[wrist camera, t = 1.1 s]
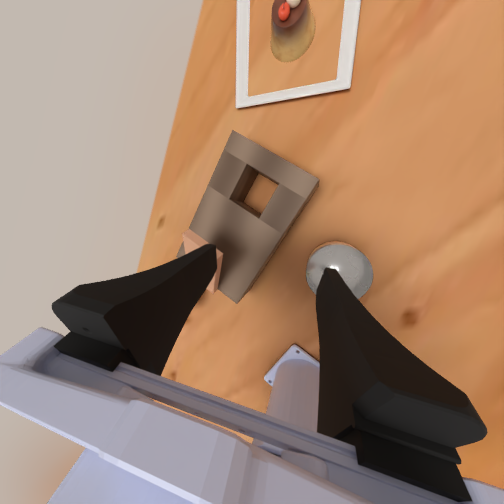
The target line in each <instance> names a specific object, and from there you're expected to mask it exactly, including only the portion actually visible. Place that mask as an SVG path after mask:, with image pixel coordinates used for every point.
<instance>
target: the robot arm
mask: <svg viewBox="0 0 504 504" xmlns="http://www.w3.org/2000/svg"><path fill="white" fill-rule="evenodd" d="M216 270H217V253H216V245H213V244H205V245H203V246H201V247H199V248H197V249H195V250H193V251H191V252H189V253H187V254H185V255H183V256H181V257H179V258H177V259H175V260H172V261H170V262H168V263H166V264H163V265H161V266H158V267H155V268H152V269H149V270H146V271H143V272H139V273H136V274H133V275H129V276H125V277H121V278H116V279H111V280H106V281H101V282H95V283H89V284H83V285H79V286H77V287H76V288H74V289H73V290H71V291H70V292H68V293H67V294H65V295H64V296H63V297H61V298H60V299H58V300H56V301H55V302H53V303H52V310H53V312H54V313H55V314H56V316H57V317H58V318H59V319H60V320H61V321H62V322H63V323H64V324H65V326H66V327H67V328H68V329H69V330H70V331H71V332H70V333H68V334H67V335H66V336H65V337H64V336H63V335H61V334H59V333H57V332H54V331H51V330H48V329H46V328H43V327H40V328H38V329H36V330H35V331H34V332H32V333H31V334H29V335H28V336H27V337H25V338H24V339H23V340H21V341H20V342H19V343H17V344H16V345H14V346H13V347H12V348H10V349H9V350H7V351H6V352H5V353H3V354H2V355H0V405H1V406H3V407H5V408H7V409H9V410H11V411H13V412H15V413H17V414H19V415H21V416H23V417H25V418H27V419H29V420H31V421H34V422H36V423H37V424H40V425H42V426H43V427H45V428H47V429H50V430H52V431H54V432H56V433H58V434H60V435H62V436H64V437H66V438H68V439H70V440H72V441H74V442H76V443H78V444H80V445H82V446H84V447H86V449H85V450H84V451H83V453H82V454H81V456H80V457H79V459H78V460H77V462H76V463H75V464H74V466H73V467H72V468H71V470H70V472H69V473H68V474H67V476H66V477H65V478H64V480H63V481H62V483H61V484H60V486H59V487H58V489H57V490H56V491H55V493H54V494H53V495H52V497H51V498H50V500H49V501H48V503H47V504H504V489H501V488H498V487H496V486H493V485H490V484H487V483H484V482H481V481H478V480H475V479H471V478H465V477H462V476H461V474H460V472H459V470H458V468H457V465H456V464H461V459H460V457H459V455H458V453H457V451H456V449H455V448H456V447H460V446H463V445H467V444H471V443H474V442H477V441H480V440H482V439H483V438H484V437H485V436H486V434H487V428H486V426H485V425H484V423H483V421H482V420H481V418H480V416H479V415H478V413H477V411H476V410H475V408H474V406H473V405H472V403H471V402H470V400H469V398H468V397H467V395H466V394H465V393H464V392H462V391H461V390H460V389H458V388H457V387H456V386H454V385H453V384H451V383H450V382H449V381H447V380H446V379H445V378H443V377H442V376H441V375H439V374H438V373H437V372H435V371H434V370H432V369H431V368H430V367H429V366H427V365H426V364H425V363H424V362H422V361H421V360H420V359H419V358H417V357H416V356H415V355H414V354H412V353H411V352H410V351H409V350H408V349H407V348H405V347H404V346H403V345H402V344H401V343H400V342H399V341H397V340H396V339H395V338H394V337H393V336H392V335H391V334H390V333H389V332H388V331H387V330H386V329H385V328H383V327H382V326H381V324H380V323H379V322H378V321H377V320H376V319H375V318H374V317H373V316H372V315H371V314H370V313H369V312H368V311H367V310H366V308H365V307H364V306H363V305H362V304H361V303H360V301H359V300H358V299H357V298H356V296H355V295H354V294H353V292H352V291H351V290H350V288H349V287H348V286H347V284H346V283H345V281H344V280H343V279H342V277H341V276H340V274H339V273H338V271H337V270H336V269H333V268H328V267H325V270H324V272H323V275H322V277H321V280H320V282H319V285H318V288H317V290H316V312H317V322H318V332H319V344H320V363H319V362H318V361H317V360H315V359H314V358H313V357H311V356H310V355H309V354H308V353H306V352H305V351H304V350H302V349H301V348H300V347H299V346H297V345H295V344H294V345H292V346H291V347H290V348H289V349H288V350H287V351H286V352H285V353H284V355H283V356H282V357H281V358H280V359H279V360H278V361H277V362H276V363H275V365H274V366H273V367H272V368H271V369H270V370H269V371H268V372H267V373H266V375H265V376H264V379H265V381H266V382H267V383H269V384H270V385H271V386H272V390H271V394H270V399H269V403H268V407H267V411H266V414H264V413H262V412H259V411H256V410H253V409H250V408H248V407H245V406H242V405H239V404H236V403H234V402H231V401H228V400H225V399H223V398H220V397H217V396H214V395H211V394H209V393H206V392H203V391H200V390H198V389H195V388H192V387H189V386H186V385H184V384H181V383H178V382H175V381H173V380H170V379H167V378H164V377H161V374H162V371H163V369H164V367H165V364H166V362H167V360H168V357H169V355H170V353H171V351H172V349H173V346H174V344H175V342H176V340H177V338H178V336H179V334H180V332H181V330H182V328H183V326H184V324H185V322H186V320H187V318H188V316H189V314H190V313H191V311H192V309H193V307H194V306H195V304H196V303H197V301H198V300H199V298H200V297H201V295H202V294H203V293H204V291H205V290H206V288H207V287H208V285H209V284H210V282H211V280H212V279H213V277H214V275H215V272H216ZM296 350H299V352H298V351H296ZM270 380H271V381H270ZM148 397H149V398H148ZM150 398H152V399H155V400H157V401H160V402H162V403H165V404H167V405H170V406H173V407H175V408H178V409H180V410H183V411H185V412H188V413H191V414H193V415H196V416H198V417H201V418H204V419H206V420H209V421H211V422H214V423H216V424H219V425H222V426H224V427H227V428H229V429H232V430H234V431H237V432H240V433H242V434H245V435H247V436H250V437H252V438H254V439H253V442H252V444H251V443H249V442H247V441H245V440H244V439H242V438H241V437H239V436H237V435H236V434H234V433H232V432H229V431H227V430H225V429H223V428H221V427H218V426H215V425H213V424H210V423H208V422H205V421H203V420H200V419H198V418H195V417H192V416H190V415H187V414H185V413H182V412H180V411H177V410H174V409H172V408H169V407H167V406H164V405H162V404H159V403H157V402H154V400H152V399H150Z"/></svg>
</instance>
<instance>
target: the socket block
mask: <svg viewBox="0 0 504 504" xmlns="http://www.w3.org/2000/svg"><path fill="white" fill-rule="evenodd" d="M258 173H259V174H261V175H263V176H264V177H266V178H268V179H269V180H271V181H273V182H274V183H276V184H278V187H277V189H276V190H275V192H274V194H273V196H272V197H271V199H270V201H269V202H268V204H267V206H266V208H265V209H264V211H263V213H262V214H260V213H259V212H257V211H256V210H254V209H252V208H251V207H249V206H248V205H246V204H245V203H243V201H244V199H245V197H246V195H247V193H248V191H249V189H250V188H251V186H252V184H253V182H254V180H255V178H256V176H257V174H258ZM318 185H319V179H318V178H316V177H315V176H313V175H311V174H309V173H308V172H306V171H304V170H302V169H300V168H299V167H297V166H295V165H293V164H292V163H290V162H288V161H286V160H285V159H283V158H281V157H279V156H278V155H276V154H274V153H272V152H271V151H269V150H267V149H265V148H264V147H262V146H260V145H258V144H256V143H255V142H253V141H251V140H249V139H248V138H246V137H244V136H242V135H241V134H239V133H237V132H235V131H234V130H232V133H231V135H230V137H229V139H228V141H227V144H226V146H225V148H224V150H223V153H222V155H221V157H220V159H219V162H218V164H217V166H216V168H215V171H214V173H213V175H212V177H211V180H210V182H209V184H208V186H207V189H206V191H205V193H204V195H203V198H202V200H201V202H200V204H199V207H198V209H197V211H196V213H195V216H194V218H193V220H192V222H191V225H190V227H189V229H190V230H192V231H193V232H194V233H196V234H197V235H198V236H200V237H201V238H203V239H204V240H205V241H207V242H208V243H209V244H213V245H216V249H218V250H219V251H220V252H222V253H223V258H222V264H221V271H220V277H219V283H218V290H220V291H221V292H222V293H224V294H225V295H226V296H227V297H229V298H230V299H231V300H233V301H234V302H235V303H236V304H237V303H238V302H239V301H240V300H241V299H242V298H243V297H244V296H245V294H246V293H247V292H248V291H249V289H250V288H251V286H252V285H253V283H254V282H255V281H256V279H257V278H258V276H259V275H260V273H261V272H262V270H263V269H264V267H265V266H266V264H267V263H268V261H269V260H270V258H271V257H272V255H273V254H274V252H275V251H276V249H277V248H278V246H279V245H280V243H281V242H282V240H283V239H284V237H285V236H286V234H287V233H288V231H289V230H290V228H291V227H292V225H293V224H294V222H295V221H296V219H297V218H298V216H299V215H300V213H301V212H302V210H303V209H304V207H305V206H306V204H307V203H308V201H309V200H310V198H311V197H312V195H313V194H314V192H315V191H316V189H317V188H318ZM183 255H185V248H184V242H183V243H182V245H181V247H180V249H179V251H178V254H177V256H176V257H177V258H179V257H181V256H183Z"/></svg>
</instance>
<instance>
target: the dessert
mask: <svg viewBox="0 0 504 504" xmlns="http://www.w3.org/2000/svg"><path fill="white" fill-rule="evenodd" d="M360 5H361V0H345V5H344V15H343V24H342V34H341V43H340V52H339V62H338V71H337V78H336V79H335V80H332V81H327V82H322V83H317V84H312V85H307V86H301V87H296V88H291V89H286V90H281V91H276V92H271V93H266V94H261V95H256V96H250V97H249V96H248V61H249V18H250V0H237V22H236V108H242V107H248V106H254V105H259V104H265V103H271V102H276V101H282V100H288V99H293V98H299V97H305V96H310V95H316V94H322V93H327V92H333V91H339V90H345V89H349V88H350V87H351V79H352V71H353V63H354V55H355V46H356V38H357V30H358V22H359V13H360ZM315 28H316V25H315V19H314V16H313V13H312V10H311V7H310V4H309V1H308V0H275V1H274V3H273V7H272V19H271V50H272V53H273V55H274V56H275V58H276V59H278V60H279V61H281V62H291V61H294V60H296V59H298V58H299V57H301V56H302V55H303V54H304V53H305V52H306V51H307V49H308V48H309V46H310V45H311V43H312V41H313V38H314V34H315Z"/></svg>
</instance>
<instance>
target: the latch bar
mask: <svg viewBox="0 0 504 504" xmlns="http://www.w3.org/2000/svg"><path fill="white" fill-rule="evenodd" d="M182 235H183V242H184V248H185V254H187V253H189V252H191V251H193V250H195V249H197V248H199V247H201V246H203V245H205V244H209V243H208V242H207V241H205V240H204V239H203V238H201V237H200V236H198V235H197V234H196V233H194V232H193V231H192V230H190V229H188V230H186V231H185V232H184V233H182ZM216 253H217V270H216V272H215V275H214V277H213V279H212V280H211V282H210V284H209V285H208V287H207V288H206V289H207V290H209V291H210V292H211V293H212V294H214V293H215V291H216V290H217V289H218V283H219V277H220V271H221V264H222V258H223V253H222V252H220V251H219V250H218V249H216Z"/></svg>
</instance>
